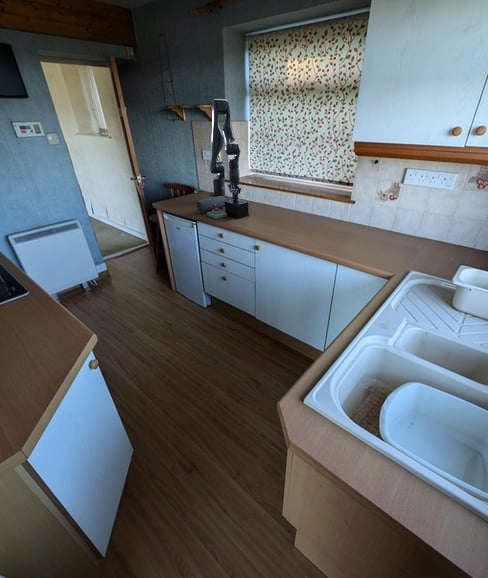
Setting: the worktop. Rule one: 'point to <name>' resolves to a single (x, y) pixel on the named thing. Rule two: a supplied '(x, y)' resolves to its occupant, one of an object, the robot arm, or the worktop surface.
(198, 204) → the bluetooth speaker
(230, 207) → the toaster
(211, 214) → the button block
